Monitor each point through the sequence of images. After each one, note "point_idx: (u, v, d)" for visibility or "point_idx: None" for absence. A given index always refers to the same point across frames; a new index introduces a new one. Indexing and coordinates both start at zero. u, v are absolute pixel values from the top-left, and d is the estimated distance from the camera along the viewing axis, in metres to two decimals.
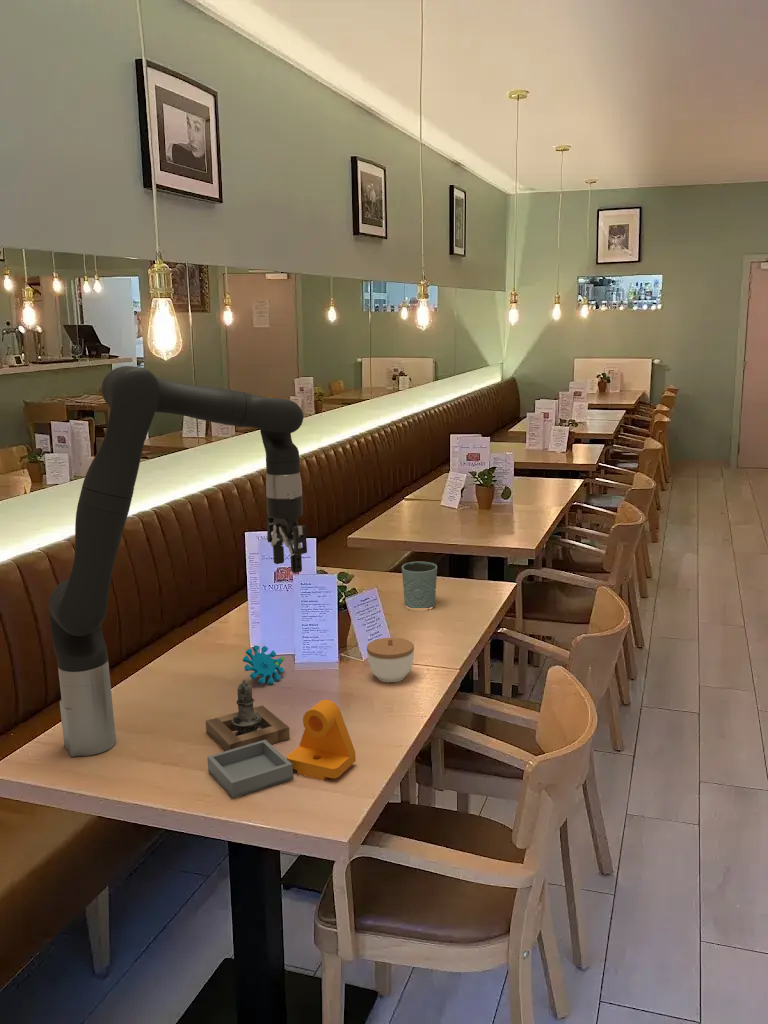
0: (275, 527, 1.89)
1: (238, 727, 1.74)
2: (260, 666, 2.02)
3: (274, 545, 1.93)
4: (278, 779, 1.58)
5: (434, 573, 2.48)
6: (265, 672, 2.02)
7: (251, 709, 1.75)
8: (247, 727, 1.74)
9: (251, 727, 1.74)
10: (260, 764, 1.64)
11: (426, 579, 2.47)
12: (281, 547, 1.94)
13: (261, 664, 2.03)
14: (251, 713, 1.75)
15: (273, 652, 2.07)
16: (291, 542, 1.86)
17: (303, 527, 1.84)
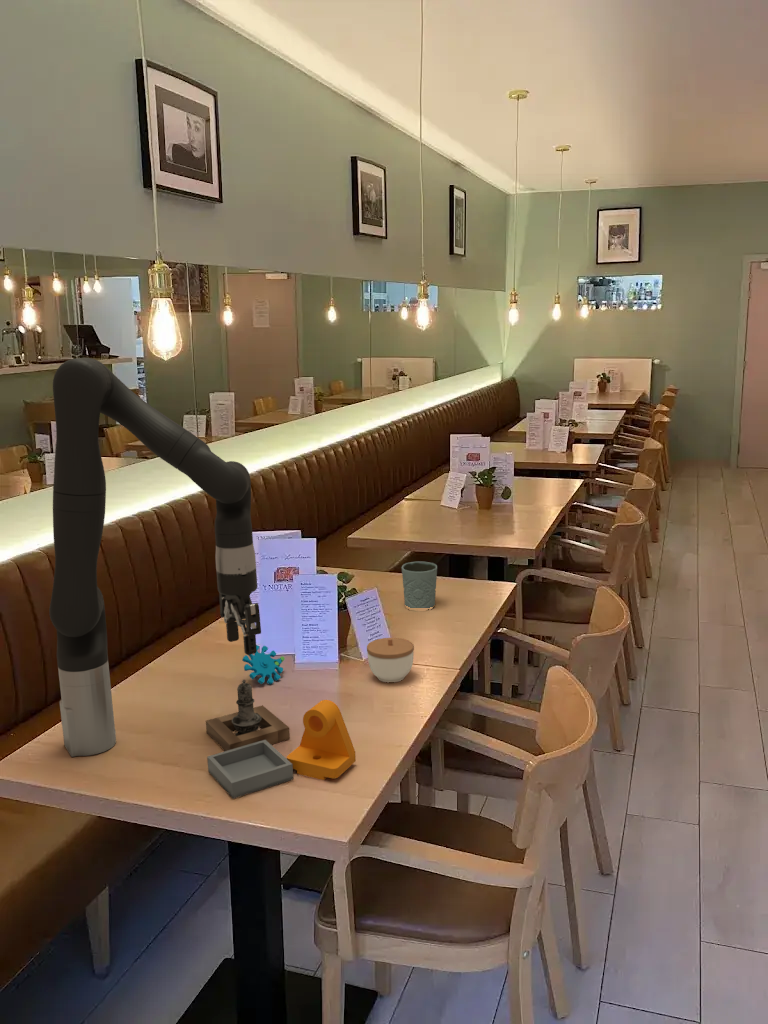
0: (227, 603, 1.71)
1: (238, 727, 1.74)
2: (260, 666, 2.03)
3: (227, 621, 1.75)
4: (278, 779, 1.58)
5: (434, 573, 2.48)
6: (265, 672, 2.02)
7: (251, 709, 1.75)
8: (247, 727, 1.74)
9: (251, 727, 1.74)
10: (260, 764, 1.64)
11: (426, 579, 2.47)
12: (235, 623, 1.76)
13: (261, 664, 2.03)
14: (251, 713, 1.75)
15: (273, 652, 2.07)
16: (244, 621, 1.68)
17: (257, 605, 1.66)
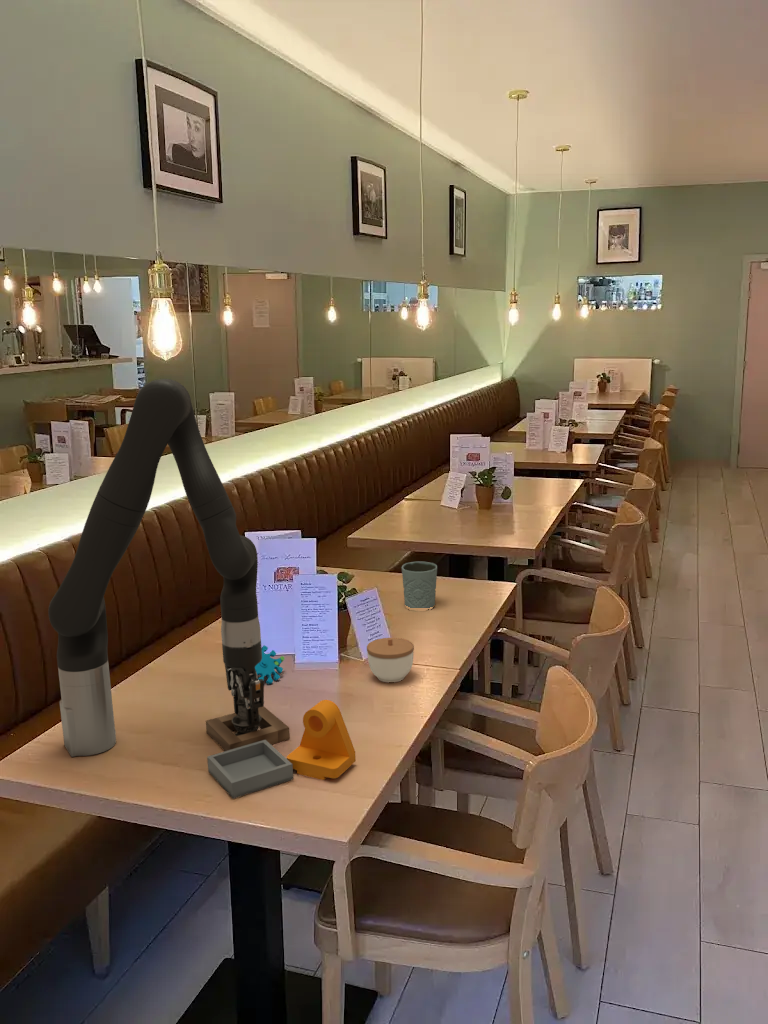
0: (232, 674, 1.74)
1: (238, 727, 1.74)
2: (259, 666, 2.03)
3: (234, 695, 1.78)
4: (278, 779, 1.58)
5: (434, 573, 2.48)
6: (264, 672, 2.02)
7: None
8: (247, 726, 1.74)
9: (251, 726, 1.74)
10: (260, 764, 1.64)
11: (426, 579, 2.47)
12: None
13: (260, 664, 2.03)
14: None
15: (273, 652, 2.07)
16: (248, 694, 1.72)
17: (262, 682, 1.69)
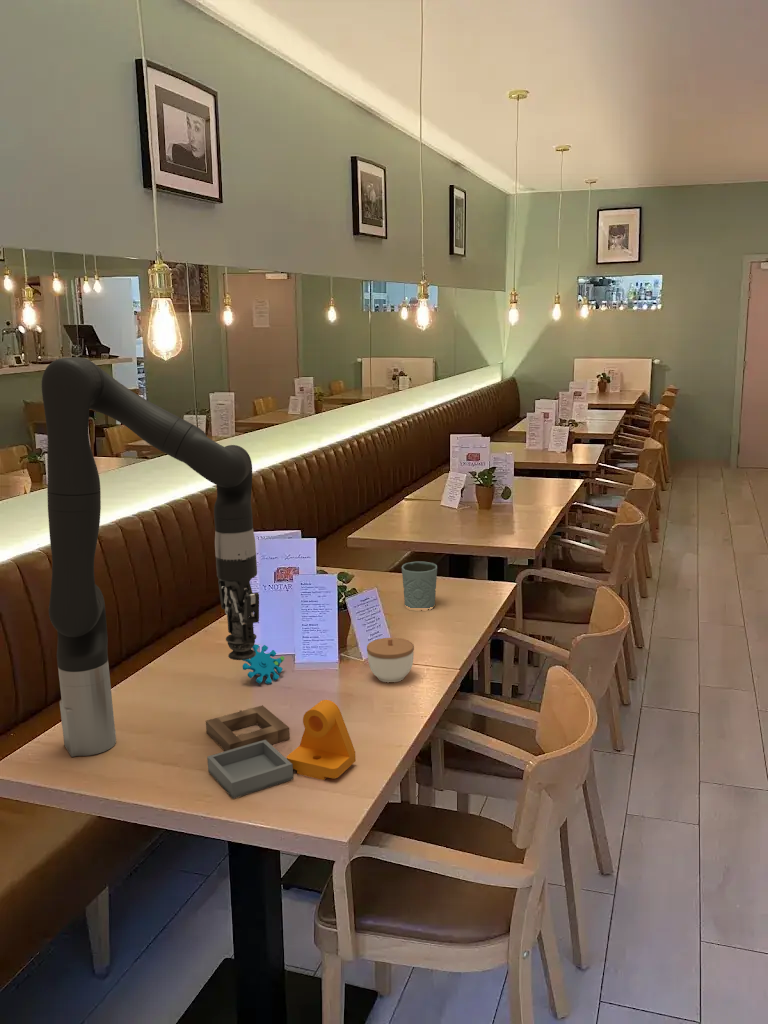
0: (226, 590, 1.68)
1: (232, 645, 1.69)
2: (258, 665, 2.03)
3: (228, 613, 1.72)
4: (278, 779, 1.58)
5: (434, 573, 2.48)
6: (263, 671, 2.03)
7: None
8: (242, 644, 1.68)
9: (245, 644, 1.68)
10: (260, 764, 1.64)
11: (426, 579, 2.47)
12: None
13: (259, 663, 2.03)
14: None
15: (273, 651, 2.07)
16: (242, 609, 1.66)
17: (257, 595, 1.63)
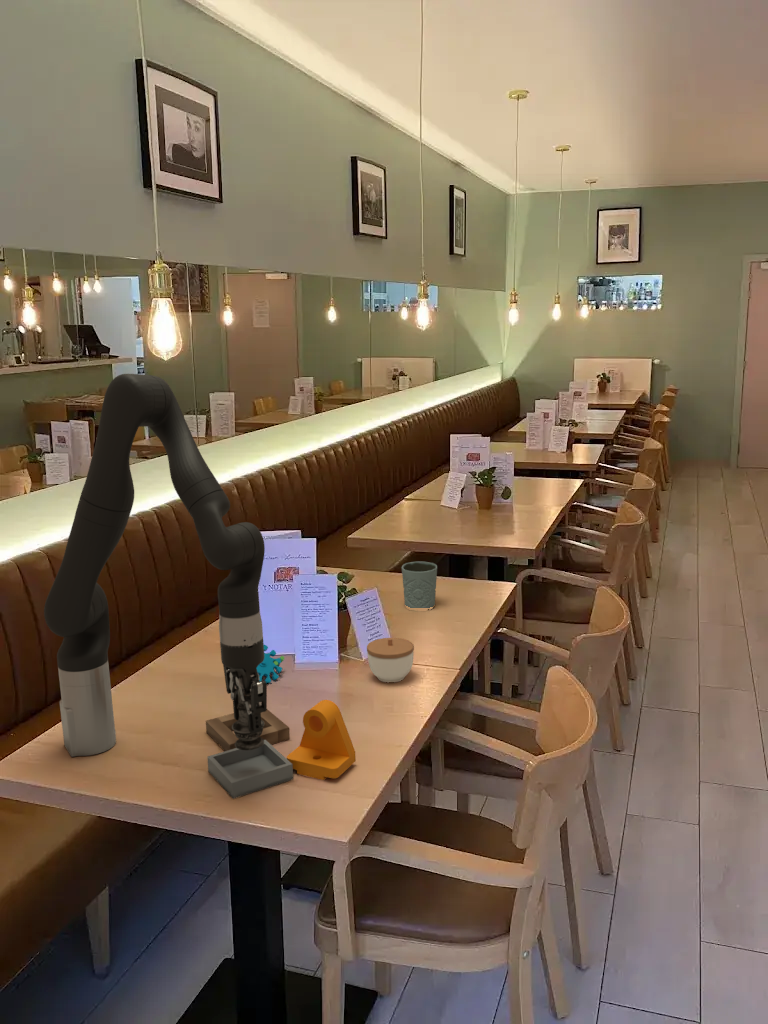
0: (231, 675, 1.58)
1: (239, 734, 1.58)
2: (258, 665, 2.03)
3: (234, 698, 1.61)
4: (278, 779, 1.58)
5: (434, 573, 2.48)
6: (262, 671, 2.03)
7: None
8: (249, 733, 1.57)
9: (253, 733, 1.58)
10: (260, 764, 1.64)
11: (426, 579, 2.47)
12: None
13: None
14: None
15: (273, 651, 2.08)
16: (249, 698, 1.55)
17: (264, 684, 1.53)
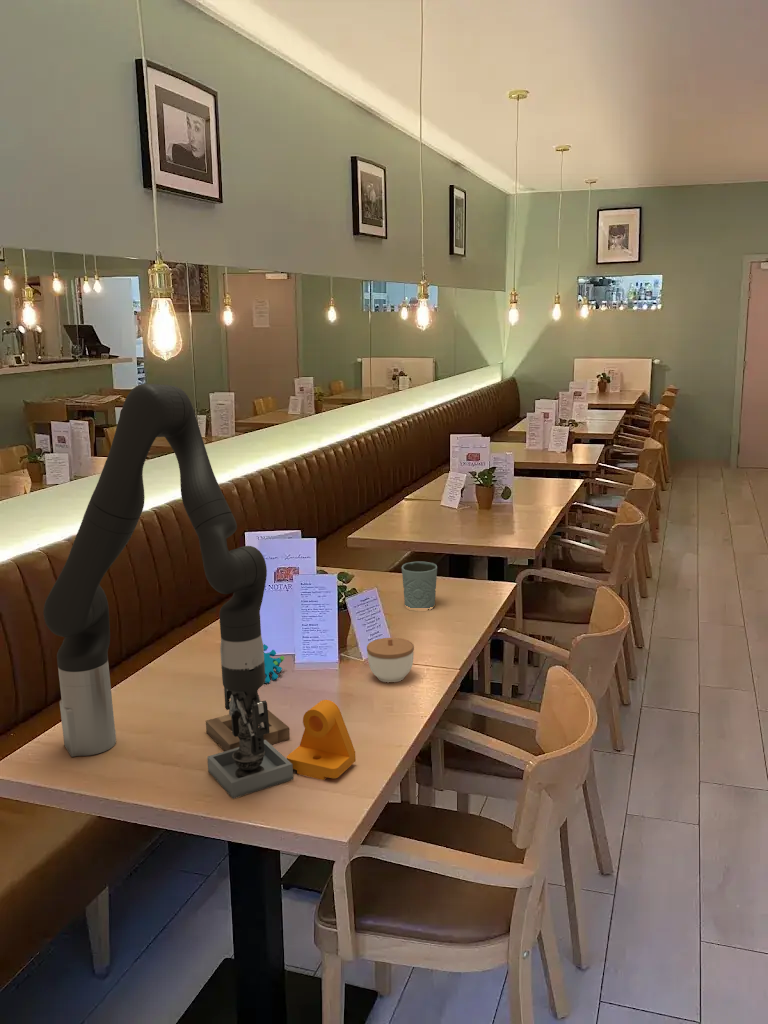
0: (232, 698, 1.58)
1: (239, 763, 1.59)
2: None
3: (232, 715, 1.62)
4: (278, 779, 1.58)
5: (434, 573, 2.48)
6: None
7: None
8: (249, 763, 1.58)
9: (253, 762, 1.59)
10: None
11: (426, 579, 2.47)
12: None
13: None
14: None
15: (273, 651, 2.08)
16: (251, 719, 1.55)
17: (265, 703, 1.53)
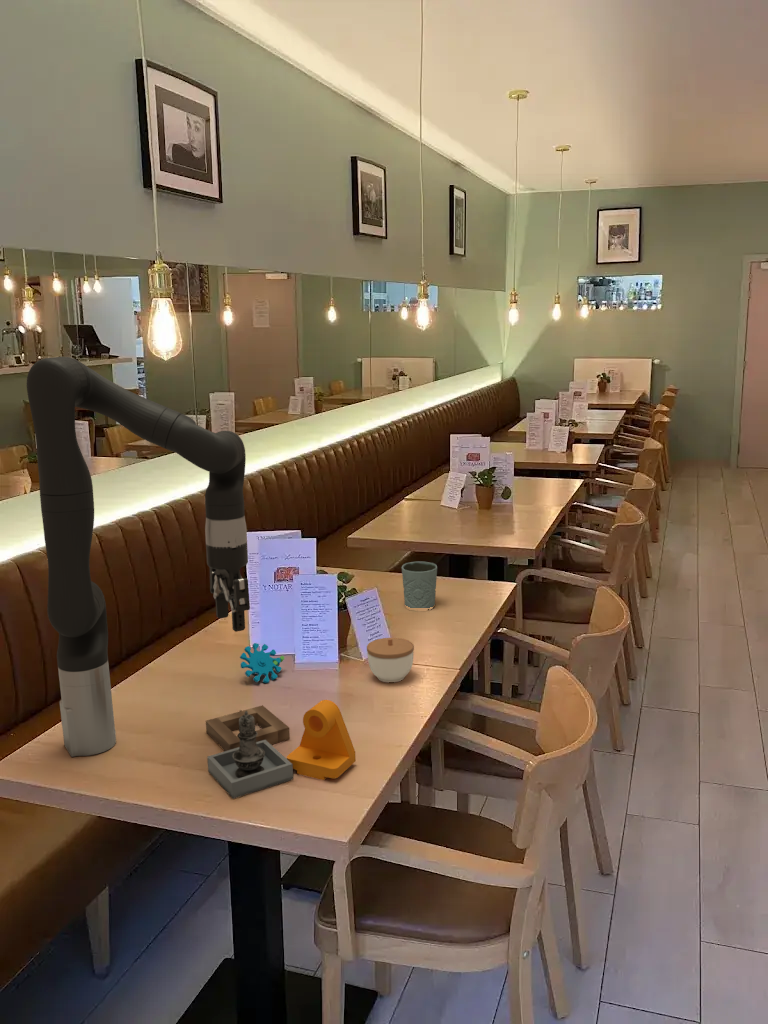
0: (216, 578, 1.66)
1: (239, 763, 1.59)
2: (257, 664, 2.04)
3: (217, 597, 1.70)
4: (278, 779, 1.58)
5: (434, 573, 2.48)
6: (261, 670, 2.03)
7: (254, 743, 1.60)
8: (249, 763, 1.58)
9: (253, 763, 1.59)
10: None
11: (426, 579, 2.47)
12: (225, 599, 1.70)
13: (258, 662, 2.04)
14: (254, 747, 1.60)
15: (273, 651, 2.08)
16: (232, 596, 1.62)
17: (246, 580, 1.60)
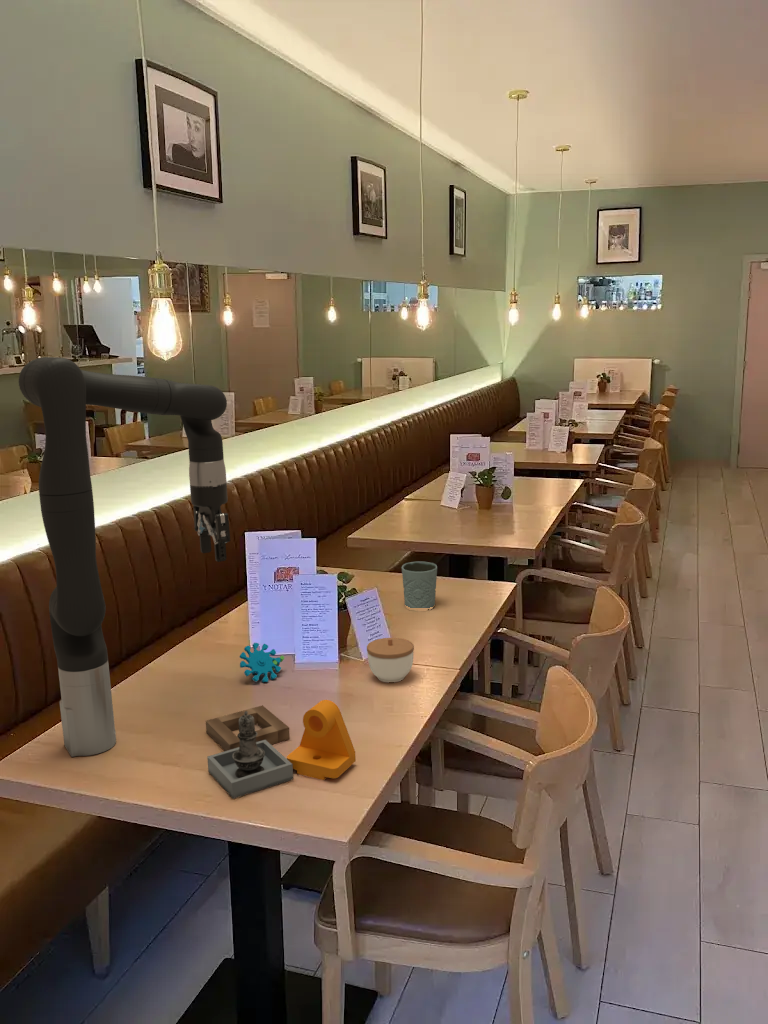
0: (200, 515, 1.87)
1: (239, 763, 1.59)
2: (256, 664, 2.04)
3: (200, 534, 1.91)
4: (278, 779, 1.58)
5: (434, 573, 2.48)
6: (260, 670, 2.03)
7: (254, 743, 1.60)
8: (249, 763, 1.58)
9: (253, 763, 1.59)
10: None
11: (426, 579, 2.47)
12: (208, 536, 1.91)
13: (257, 662, 2.04)
14: (254, 747, 1.60)
15: (273, 651, 2.08)
16: (215, 530, 1.83)
17: (226, 515, 1.81)
